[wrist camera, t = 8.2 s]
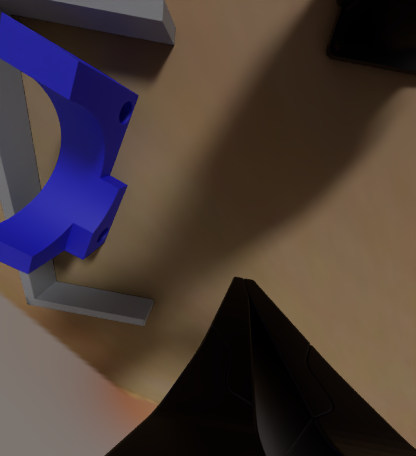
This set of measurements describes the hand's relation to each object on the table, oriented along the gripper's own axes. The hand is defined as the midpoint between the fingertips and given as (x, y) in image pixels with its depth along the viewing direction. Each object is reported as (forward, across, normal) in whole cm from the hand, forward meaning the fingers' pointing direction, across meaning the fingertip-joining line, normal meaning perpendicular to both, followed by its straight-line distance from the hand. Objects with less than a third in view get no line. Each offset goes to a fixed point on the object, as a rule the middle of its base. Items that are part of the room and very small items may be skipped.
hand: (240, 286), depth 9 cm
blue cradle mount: (+8, +11, -2) cm, 14 cm away
